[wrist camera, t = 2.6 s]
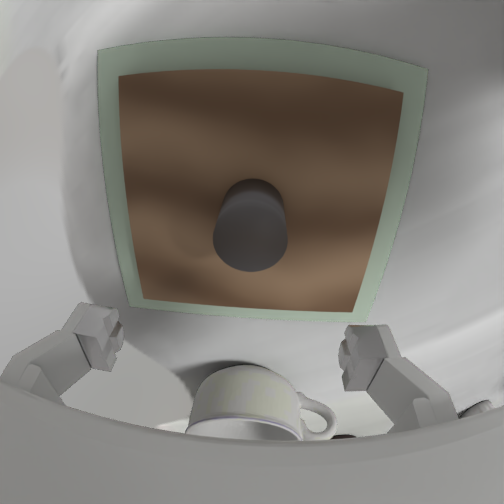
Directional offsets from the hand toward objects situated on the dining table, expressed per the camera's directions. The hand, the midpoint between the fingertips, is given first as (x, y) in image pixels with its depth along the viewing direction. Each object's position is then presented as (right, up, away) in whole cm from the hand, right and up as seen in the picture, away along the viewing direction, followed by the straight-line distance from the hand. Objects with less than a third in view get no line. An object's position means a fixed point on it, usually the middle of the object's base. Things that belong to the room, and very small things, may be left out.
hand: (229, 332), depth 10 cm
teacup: (+2, -11, +20) cm, 23 cm away
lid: (+1, +6, +9) cm, 11 cm away
